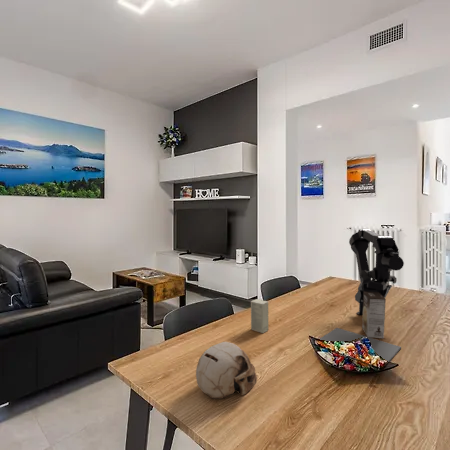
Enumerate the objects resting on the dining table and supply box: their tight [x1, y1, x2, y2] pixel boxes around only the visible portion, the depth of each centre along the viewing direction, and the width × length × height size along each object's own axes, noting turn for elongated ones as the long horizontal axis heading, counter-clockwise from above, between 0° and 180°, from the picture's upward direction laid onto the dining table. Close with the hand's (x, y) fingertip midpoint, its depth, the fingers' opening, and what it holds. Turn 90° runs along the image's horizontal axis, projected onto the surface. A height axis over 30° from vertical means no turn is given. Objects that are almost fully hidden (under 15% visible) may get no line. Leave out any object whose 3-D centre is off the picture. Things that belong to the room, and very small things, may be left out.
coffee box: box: [361, 292, 387, 339], centre depth 121 cm, size 9×6×16 cm
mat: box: [319, 327, 402, 363], centre depth 110 cm, size 20×24×1 cm
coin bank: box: [195, 341, 258, 399], centre depth 84 cm, size 16×17×13 cm
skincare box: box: [250, 298, 269, 334], centre depth 123 cm, size 6×4×12 cm
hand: (381, 301), depth 127 cm, fingers closed
